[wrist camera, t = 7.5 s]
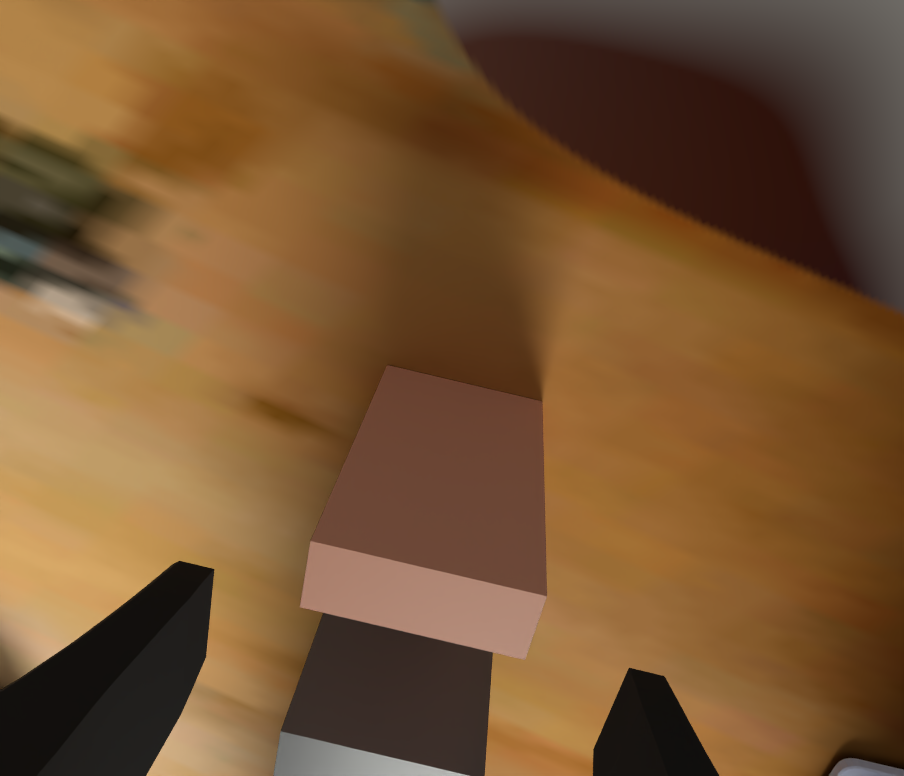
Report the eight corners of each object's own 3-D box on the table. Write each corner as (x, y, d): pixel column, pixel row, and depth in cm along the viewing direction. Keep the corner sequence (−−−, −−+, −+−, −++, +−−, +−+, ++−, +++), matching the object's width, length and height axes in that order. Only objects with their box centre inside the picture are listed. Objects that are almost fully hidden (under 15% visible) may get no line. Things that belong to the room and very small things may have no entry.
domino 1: (542, 401, 21) (546, 595, 14) (527, 450, 22) (524, 659, 14) (387, 364, 21) (310, 540, 14) (377, 414, 22) (300, 607, 14)
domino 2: (499, 546, 23) (484, 779, 16) (487, 586, 24) (467, 826, 17) (359, 513, 23) (280, 731, 16) (351, 553, 24) (272, 780, 17)
